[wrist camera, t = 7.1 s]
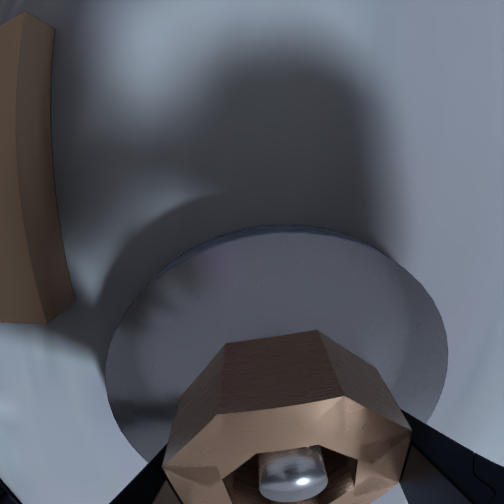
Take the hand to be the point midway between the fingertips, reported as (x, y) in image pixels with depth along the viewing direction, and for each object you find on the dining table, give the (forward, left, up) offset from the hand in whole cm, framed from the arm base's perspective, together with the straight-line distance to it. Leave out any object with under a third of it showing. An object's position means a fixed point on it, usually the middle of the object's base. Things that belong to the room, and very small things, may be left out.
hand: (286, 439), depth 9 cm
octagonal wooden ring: (0, 0, -1) cm, 1 cm away
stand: (-12, +9, -3) cm, 15 cm away
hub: (0, 0, -3) cm, 3 cm away
